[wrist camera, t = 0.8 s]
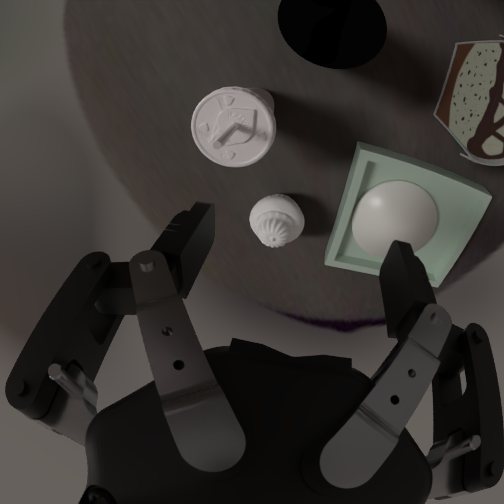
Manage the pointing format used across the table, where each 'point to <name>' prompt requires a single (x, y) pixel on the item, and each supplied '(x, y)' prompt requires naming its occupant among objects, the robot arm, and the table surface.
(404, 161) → the tray
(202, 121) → the smoothie
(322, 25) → the supplement container
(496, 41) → the food container
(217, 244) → the table surface
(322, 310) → the table surface
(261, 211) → the muffin
